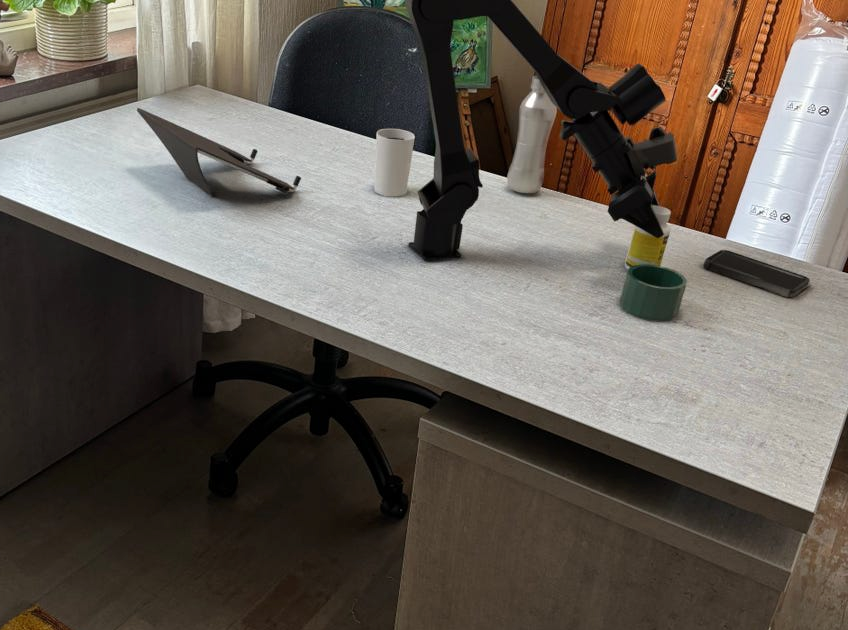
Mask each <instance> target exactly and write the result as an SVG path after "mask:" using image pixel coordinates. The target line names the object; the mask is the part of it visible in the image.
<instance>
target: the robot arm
mask: <svg viewBox="0 0 848 630" xmlns="http://www.w3.org/2000/svg"><path fill="white" fill-rule="evenodd" d="M404 5H405V8H406V11H407V14H408V17H409V20H410V23H411V26H412V28H413V32H414V34H415V36H416V39H417V42H418V44H419V47H420V50H421V57H422V63H423V70H424V75H425V82H426V89H427V92H428V93H427V95H428V101H429V107H430V114H431V120H432V126H433V135H434V140H435V151H434V152H435V153H434V159H433V178H432V179H431V180H429V181H428V182H427V183H426V184H424V185H423V186H422V187H420V189H419V190H418V191H417V195H418V200H419V203H420V205H421V207H422V209H421V210H419V211H416V218H415V227H414V235H413V241H410V242H408V244H407V246H408V247H409V248H410V249H411V250H412V251H413V252H415V253H416V254H417V255H418V256H419V257H420V258H422V260H424V261H425V262H431V261H432V262H433V261H441V260H451V259H458V258H459V259H460V258H462V257H463V256H462V255H463V254H462V253H461V251H459V250H460V248H461V241H462V236H463V235H462V234H463V227H464V225H463V223H462V221H463V218H464V217H465V215H466V212H467V211H468V210H469V209H470V208H472V207H473V206H474V205H475V203H476V202H477V201H478V200H479V196H480V189H479V188H483V187H484V185H483V183H482V181H481V178H480V160H479V159H478V157H477V155H476V154H475V152H474V150H473V149H472V148H471V147H469V148H467V149H465V145H464V138H463V131H462V123H461V117H460V116H461V115H460V109H459V102H458V95H457V88H456V87H457V85H456V79H455V73H454V66H453V58H452V51H451V50H452V49H451V48H452V39H453V31H454V21H460V20H461V21H463V20H469V19H473V18H474V19H475V18H479V17H480V18H481V17H487V18H488V19H489V21H490V22H491V23H492V24H493V25H494V26H495V27H496V28H497V29H498V31H499V32H500V33H501V35H503V36H504V38H505V39H506V40H507V41H508V42H509V43H510V44H511V45H512V47H513V48H514V49H515V50H516V51H517V52H518V53H519V55H520V56H521V57H522V58H523V59H524V60H525V61H526V63H527V64H528V65H529V66H530V67H531V68H532V70H533V71H534V73H535V76H537V77H538V79H539V81H540V83H541V85H542V87H543V88H544V90H545V92H546V94H547V95H548V97H549V99H550V100H551V102H552V103H553V104H554V105H555V106H556V108H557V110H559V112H561V114H563V116H565V117H566V118H567V119H570V120H565V119H562V120H561V122H560V124H561V128H560V133H559V135H558V136H559V139H560V140H562V141H564V142H565V141H567V140H569V139H570V138H571V137H572V136H574V137H575V139H576V140H577V142H578V143H579V144H580V146H581V148H582V149H583V151H584V152H585V154H586V155H587V156H588V158H589V159H590V161H591V163H592V166H591V167H592V170H593V171H594V172H595V174H597V173H599V174H600V176H601V177H602V179H603V180H604V182H605V184H607V188H606V190H607V192H608V194H609V195H610V200H609V203H608V208H607V213H608V214H609V216H610V217H611V219H612V221H613V222H618V221H619V220H623V221H625V222H627V223H629V224H631V225H633V226H634V227H635V226H637V227H639V228H640V229H642V230H644V231H646V232H647V233H649V234H651V235H652V236H654V237H656V238H660V237H662V236H663V235H664V233H663V230H662V228H661V225H660V223H659V220H658V218H657V216H656V213H655V211H654V209H653V206H652V205H656V206H660V203H659V200H658V197H657V194H656V192H655V188H654V187H655V184H656V183H655V182H656V179H657V170H655V169H656V167H658V166H661V165H665V164H666V165H670V164H674V163H675V162H677V161H678V151H677V150H678V149H677V146H676V145H677V144H676V139H675V135H674V133H672V132H671V131H670V132H666V130H665V129H664V128H663V127H662V126H658V127H654V128H651V129H650V133H649V137H648V139H647V138H644V139H643V140H642V141H639V142H636V143H635V142H634V140H633V138H632V137H629V136H625V135H624V134H623V132H622V131H621V129H620V128H619V126H618V124H617V123H616V122H615V120H614V119H613V117H612V115H611V114H610V112H609V111H611V112H612V114H613V115H614V116H615V118H616V120H617V121H618V122H619V123H620V125H622V126H624V125H625V124H626V123H627V124H628V126H632V127H633V126H635V125H636V124H638V122H640V121H642V120H643V119H644V118H645V117H647V116H648V115H649V114H651V113H652V112H653V111H655V110H656V109H657V108H659V107H660V106H661V105H663V104H664V103H665V102H666V101H667V98H666V96H665V93H664V91H663V90H662V88H661V86H660V85H659V84H658V83H656V81H655V80H654V79H653V77H652V76H651V75H650V74H649V72H648V71H647V69H646V68H645V66H644V65H642V64H641V63H637V64H635V65H634V66H633V67H631V68H630V69H629V70H628V72H627V73H626V74H624V75H623V76H622V77H621V78H619V79H618V80H616V81H615V82H614V83H613V84H611V85H610V86H609V87H608V86H606V85H605V84H604V83H602V82H597V81H594V80H591V79H590V78H588V76H586V75H585V74H584V73H582V72H581V71H580V70H579V69H578V68H577V67H575V66H573V64H571V63H570V62H568V61H567V60H566V59H565V58H564V57H562V56H560V54H558V53H557V52H556V51H555V50H554V48H553V47H552V46H551V45H550V43H548V42H547V40H546V39H545V38H544V36H543V35H542V34H541V33H540V32H539V31H538V30H537V29H536V27H535V26H534V25H533V24H532V23H531V21H530V20H528V18H527V17H526V16H525V15H524V13H523V12H522V11H521V10H520V9H519V7H518V6H517V5H516V4H515V3H514V1H513V0H404ZM648 169H650V170H652V172H651V173H649V174H648V175H647V170H648ZM653 170H654V171H653Z"/></svg>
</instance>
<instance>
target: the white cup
mask: <svg viewBox="0 0 848 630" xmlns="http://www.w3.org/2000/svg"><path fill="white" fill-rule="evenodd" d="M415 139H416V138H415V134H414V133H413V132H411V131H408V130H404V129H399V128H382V129H378V130H377V131H376V139H375V161H374V184H373V185H374V187H373V190H374V192H375V193H377V194H378V195H381V196H384V197H385V196H386V197H392V198H393V197H395V198H396V197H403V196H405V195H406V194H407V189H408V184H409V183H408V182H409V177H410V171H411V163H412V157H413V152H414V145H415V144H414V143H415Z"/></svg>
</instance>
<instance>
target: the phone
mask: <svg viewBox="0 0 848 630" xmlns="http://www.w3.org/2000/svg"><path fill="white" fill-rule="evenodd" d="M703 263H704V264H703V268H704V269H707V270H709V271H712V272H714V273H718V274H720V275H723V276H726V277H729V278H732V279H734V280H738V281H740V282H743V283H745V284H748V285H751V286H754V287H756V288H760V289H762V290H765V291H769V292H771V293H774V294H777V295H779V296H783V297H786V298H794V297H796V296H797V295H799V294H800V293H801V292H803V291H804V290H805V289H807V288H808V286H809V283H810V280H811V279H810V278H809V277H807V276H805V275H801V274H799V273H796V272H794V271H790V270H787V269H784V268H781V267H779V266H777V265H774V264H770V263H767V262H764V261H761V260H758V259H755V258H752V257H749V256H746V255H743V254H740V253H737V252H734V251H731V250H727V249H720V250H718V251H717V252H715V253H713V254H712V255H709V256H708V257H706V258H705V259H704V262H703Z"/></svg>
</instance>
